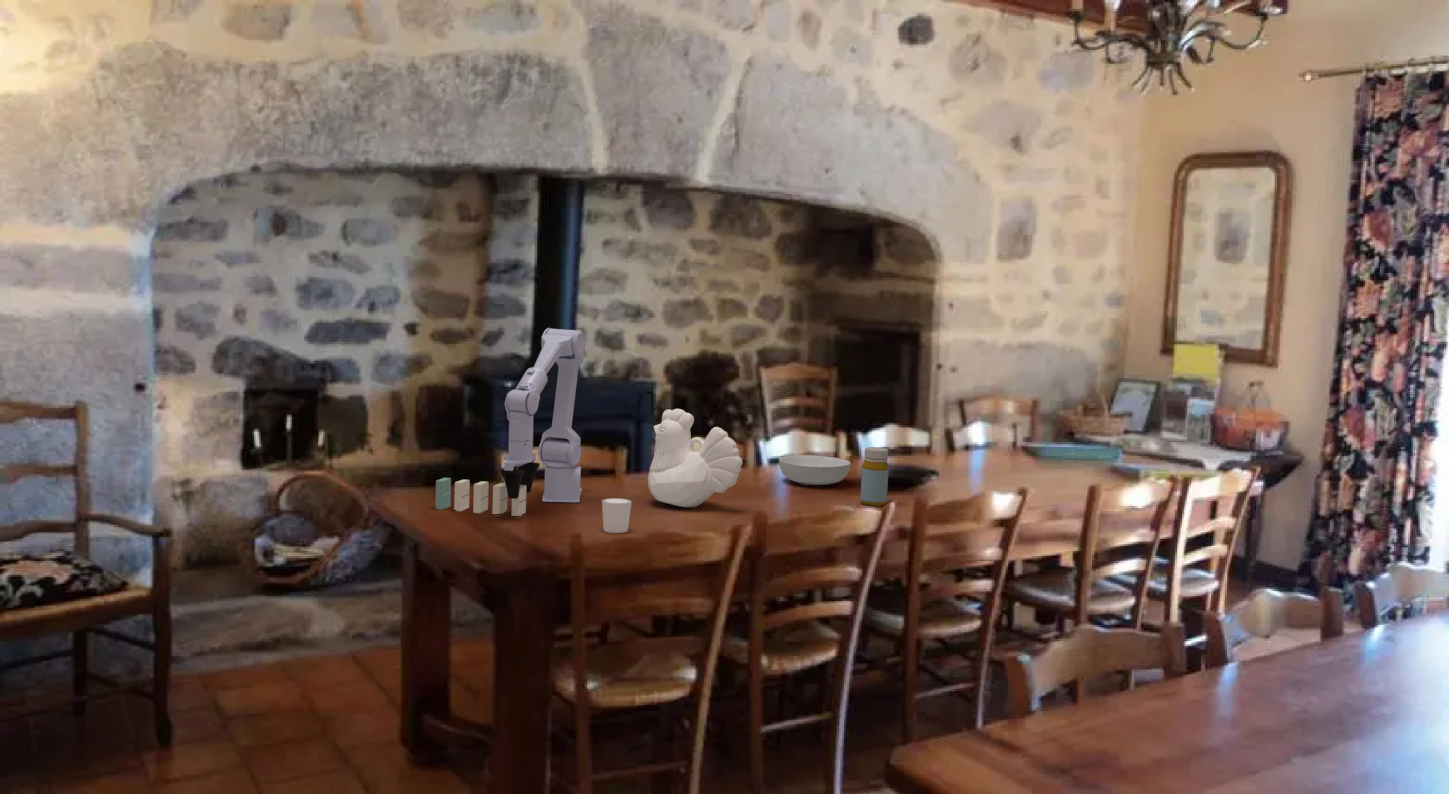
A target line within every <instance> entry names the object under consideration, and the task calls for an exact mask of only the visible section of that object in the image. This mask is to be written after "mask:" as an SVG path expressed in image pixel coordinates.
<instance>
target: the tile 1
mask: <svg viewBox="0 0 1449 794" xmlns="http://www.w3.org/2000/svg"><path fill="white" fill-rule="evenodd" d="M451 488H452V478H451V477H442V478H440V479H437V480H435V505H434V506H435V507H434V509H435V510H442V509H443V510H444V508H445V509H447V508H449V507H451V502H452V501H451V498H452V495H451V493H452V491H451V490H452V489H451Z"/></svg>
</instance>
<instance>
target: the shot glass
mask: <svg viewBox="0 0 1449 794" xmlns="http://www.w3.org/2000/svg"><path fill="white" fill-rule="evenodd" d="M601 505H602V507H601V508H602V510H601V511H602V524H603V527H602V528H603V531H604V532H606V533H611V534H612V533H613V534H620V533H621V534H623V533H627V532H628V531H629V524H630V516H631V510H632V500H630V499H627V498H619V497H617V498H616V497H613V498H612V497H611V498H604V499H602V500H601Z"/></svg>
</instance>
